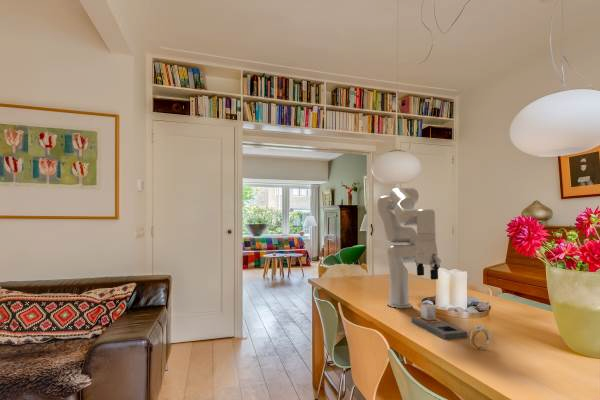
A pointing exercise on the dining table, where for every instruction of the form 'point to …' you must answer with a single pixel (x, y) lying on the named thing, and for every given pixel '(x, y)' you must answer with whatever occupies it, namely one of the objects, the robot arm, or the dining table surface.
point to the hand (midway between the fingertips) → (427, 277)
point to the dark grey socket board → (440, 328)
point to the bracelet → (476, 333)
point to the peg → (428, 313)
